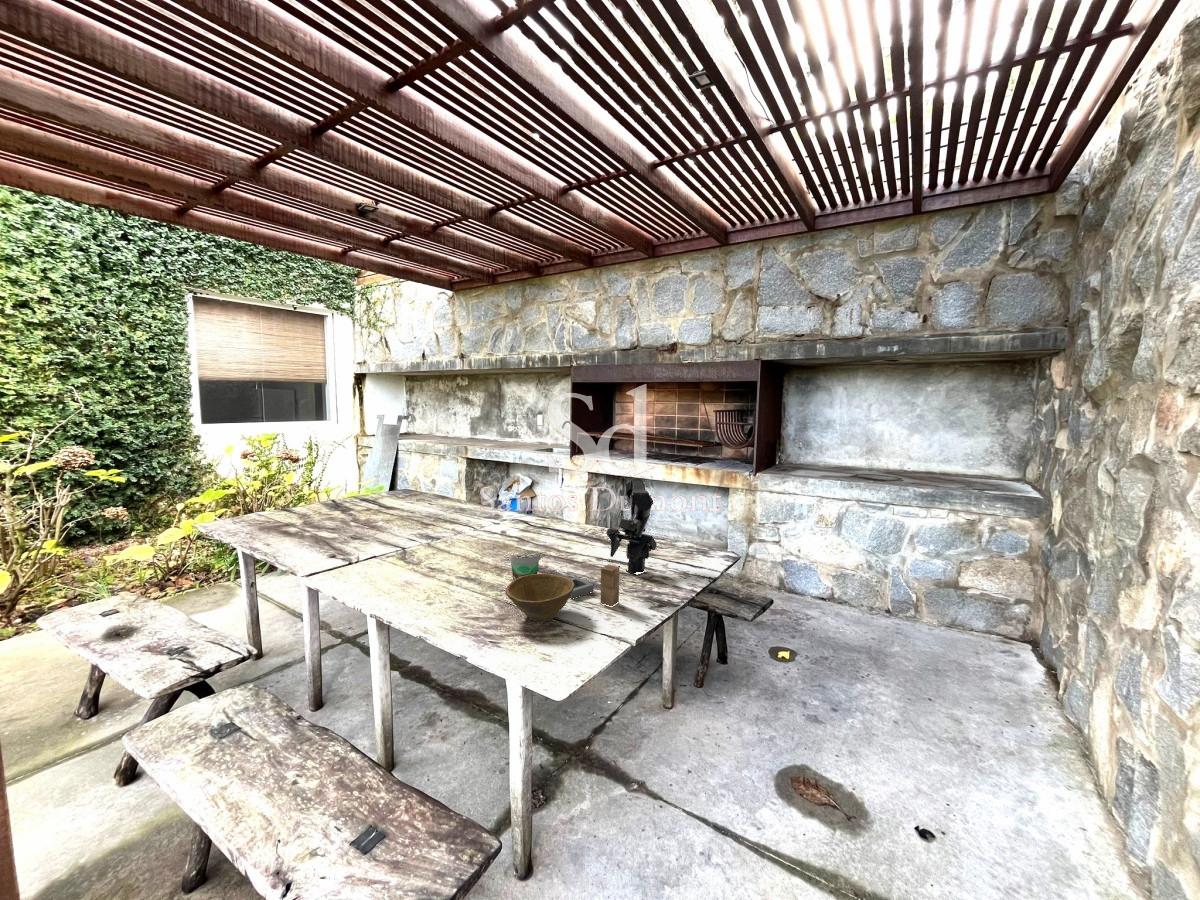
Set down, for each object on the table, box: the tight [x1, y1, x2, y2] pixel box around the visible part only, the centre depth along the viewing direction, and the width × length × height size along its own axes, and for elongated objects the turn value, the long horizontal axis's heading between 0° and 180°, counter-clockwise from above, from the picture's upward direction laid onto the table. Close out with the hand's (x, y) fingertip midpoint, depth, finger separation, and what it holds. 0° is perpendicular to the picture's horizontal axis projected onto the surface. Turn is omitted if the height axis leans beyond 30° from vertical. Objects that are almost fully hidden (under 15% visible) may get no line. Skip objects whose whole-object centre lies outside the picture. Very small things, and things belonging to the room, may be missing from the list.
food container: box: [508, 552, 542, 581], centre depth 189 cm, size 12×6×10 cm, turn 105°
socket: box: [569, 576, 595, 600], centre depth 180 cm, size 10×10×3 cm
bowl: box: [505, 572, 574, 623], centre depth 160 cm, size 22×23×10 cm
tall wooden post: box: [600, 564, 620, 606], centre depth 169 cm, size 4×4×13 cm
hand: (622, 559), depth 175 cm, fingers open, 9 cm apart
